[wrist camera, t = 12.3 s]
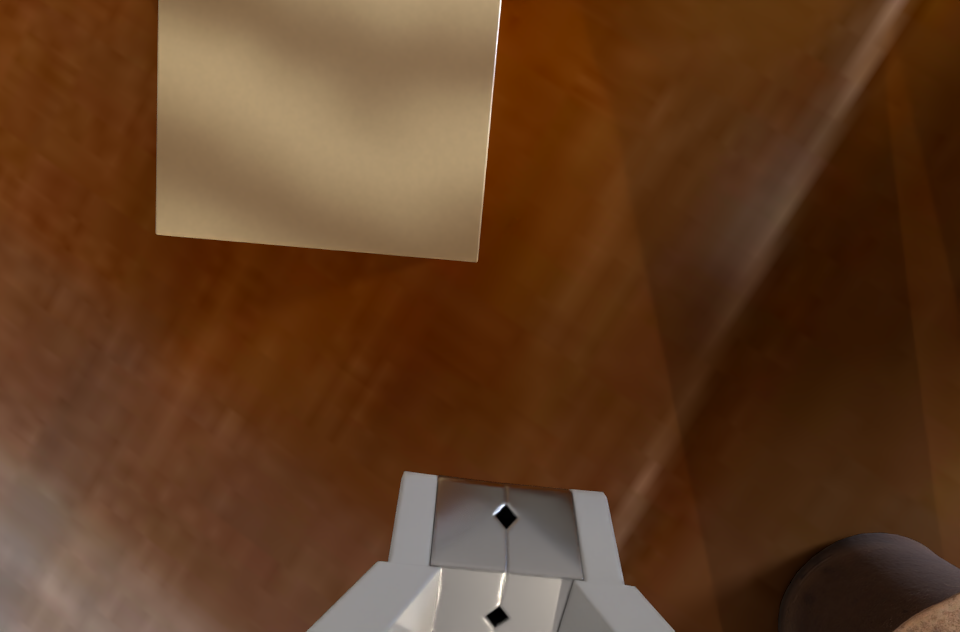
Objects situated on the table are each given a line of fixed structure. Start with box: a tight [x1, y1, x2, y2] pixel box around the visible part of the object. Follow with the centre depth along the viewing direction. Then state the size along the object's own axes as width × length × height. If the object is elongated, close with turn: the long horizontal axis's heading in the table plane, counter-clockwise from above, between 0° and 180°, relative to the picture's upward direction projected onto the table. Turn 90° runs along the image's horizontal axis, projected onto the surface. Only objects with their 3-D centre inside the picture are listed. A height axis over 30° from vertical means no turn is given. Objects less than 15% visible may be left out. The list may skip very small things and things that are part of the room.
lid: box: [156, 0, 501, 262], centre depth 26 cm, size 16×13×1 cm
